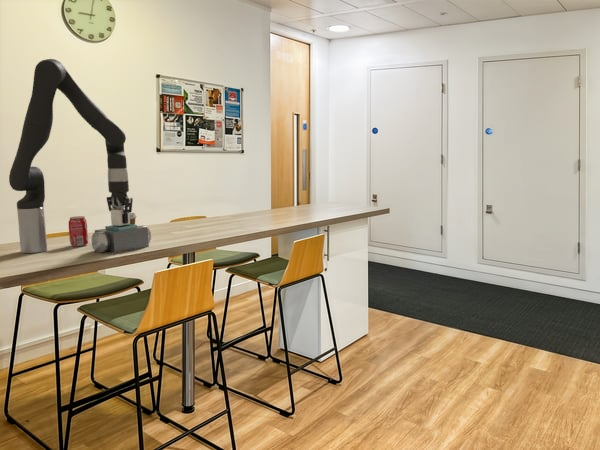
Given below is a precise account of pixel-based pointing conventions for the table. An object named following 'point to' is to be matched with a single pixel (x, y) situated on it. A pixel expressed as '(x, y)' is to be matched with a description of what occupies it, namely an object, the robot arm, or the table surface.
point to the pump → (118, 217)
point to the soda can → (78, 231)
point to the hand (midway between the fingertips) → (121, 222)
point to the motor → (120, 238)
